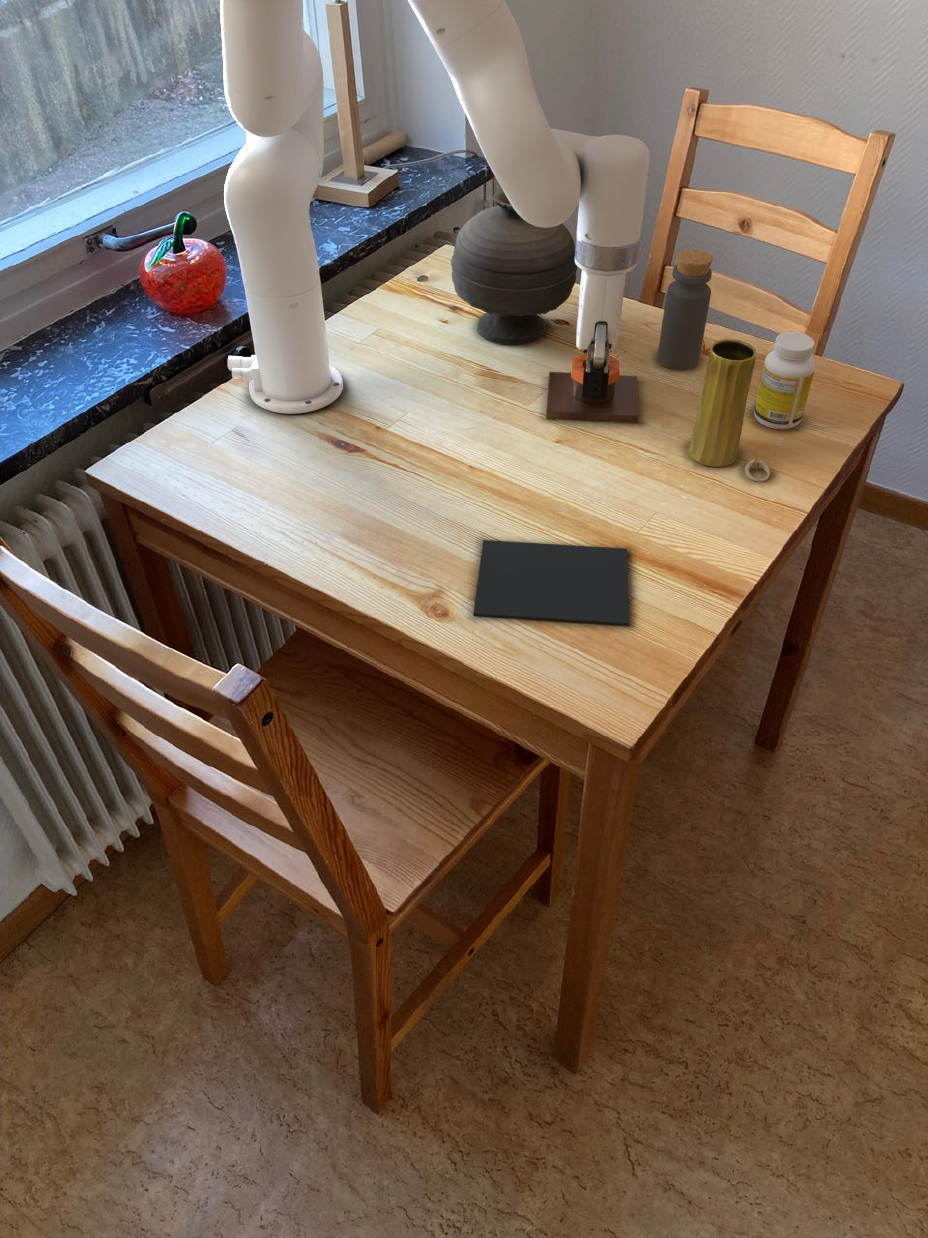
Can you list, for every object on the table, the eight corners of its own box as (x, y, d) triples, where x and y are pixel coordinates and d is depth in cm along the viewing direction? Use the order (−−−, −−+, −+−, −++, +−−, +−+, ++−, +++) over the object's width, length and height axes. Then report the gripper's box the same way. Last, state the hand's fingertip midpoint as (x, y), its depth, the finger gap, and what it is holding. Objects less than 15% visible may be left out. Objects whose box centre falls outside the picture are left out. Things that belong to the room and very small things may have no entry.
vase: (737, 470, 122) (760, 365, 112) (686, 464, 122) (705, 360, 113) (737, 442, 126) (760, 339, 116) (688, 437, 127) (707, 334, 117)
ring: (748, 486, 120) (739, 468, 122) (772, 483, 121) (762, 465, 122) (752, 478, 119) (743, 460, 121) (775, 475, 119) (766, 456, 121)
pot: (563, 363, 139) (561, 218, 126) (442, 356, 144) (427, 215, 130) (588, 308, 152) (588, 171, 138) (476, 303, 156) (465, 170, 143)
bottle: (703, 354, 142) (722, 251, 131) (692, 373, 138) (710, 269, 128) (664, 345, 144) (679, 243, 133) (651, 364, 140) (666, 261, 129)
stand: (545, 418, 130) (549, 363, 124) (548, 379, 137) (552, 325, 132) (638, 423, 129) (645, 368, 124) (636, 383, 136) (643, 329, 131)
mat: (473, 616, 103) (473, 613, 103) (483, 542, 112) (483, 539, 112) (628, 626, 102) (628, 623, 102) (626, 551, 111) (626, 548, 110)
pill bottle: (786, 402, 133) (805, 325, 125) (810, 426, 128) (831, 348, 121) (744, 409, 131) (761, 332, 124) (766, 434, 127) (785, 356, 120)
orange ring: (570, 385, 128) (571, 375, 127) (571, 360, 133) (572, 351, 132) (618, 387, 128) (620, 377, 127) (618, 363, 132) (619, 353, 131)
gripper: (576, 219, 125) (567, 348, 138) (573, 281, 113) (563, 416, 125) (636, 221, 125) (621, 351, 137) (640, 283, 112) (623, 419, 125)
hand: (594, 381), depth 131 cm, fingers open, 6 cm apart
